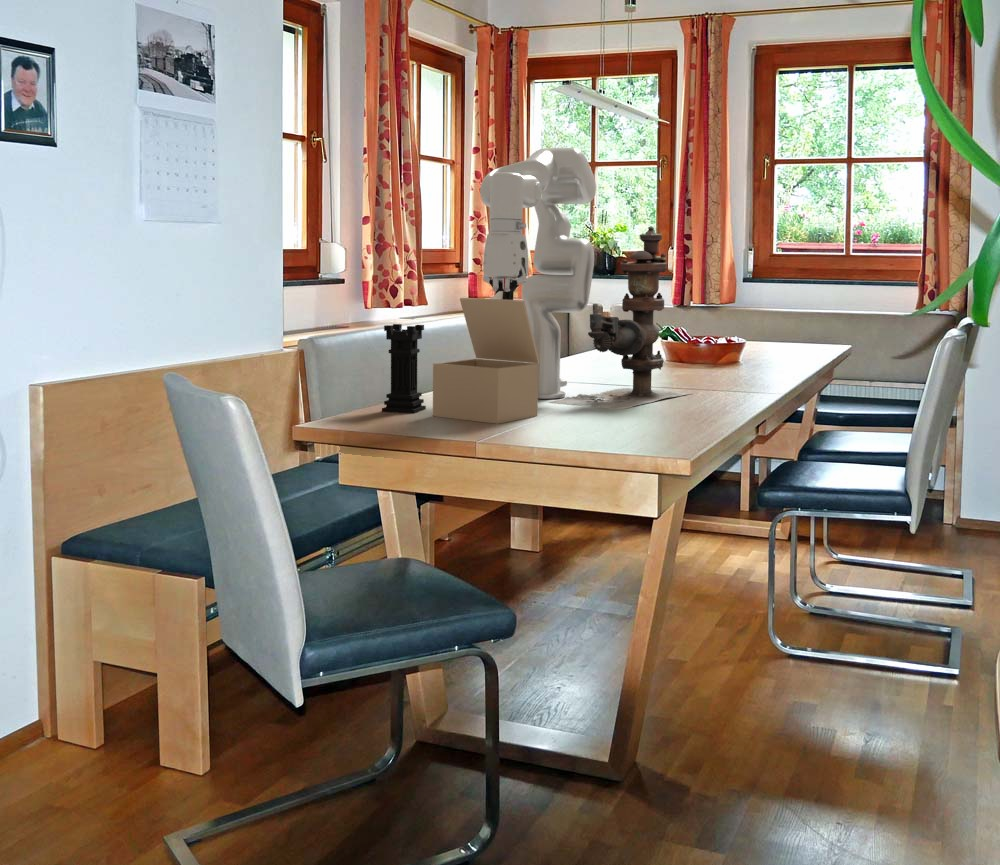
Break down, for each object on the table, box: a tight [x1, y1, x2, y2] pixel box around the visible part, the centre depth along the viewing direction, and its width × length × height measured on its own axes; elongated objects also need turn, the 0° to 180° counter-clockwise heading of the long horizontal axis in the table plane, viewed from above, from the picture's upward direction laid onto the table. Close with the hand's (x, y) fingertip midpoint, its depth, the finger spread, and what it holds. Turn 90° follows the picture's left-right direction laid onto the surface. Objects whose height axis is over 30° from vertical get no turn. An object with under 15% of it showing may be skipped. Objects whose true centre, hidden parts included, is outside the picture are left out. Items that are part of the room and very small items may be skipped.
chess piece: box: [381, 323, 427, 414], centre depth 261 cm, size 8×8×20 cm
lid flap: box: [459, 291, 540, 363], centre depth 258 cm, size 16×18×5 cm
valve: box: [551, 226, 694, 410], centre depth 289 cm, size 42×20×45 cm, turn 146°
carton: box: [432, 358, 539, 425], centre depth 255 cm, size 16×18×12 cm
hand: (504, 308), depth 257 cm, fingers closed
